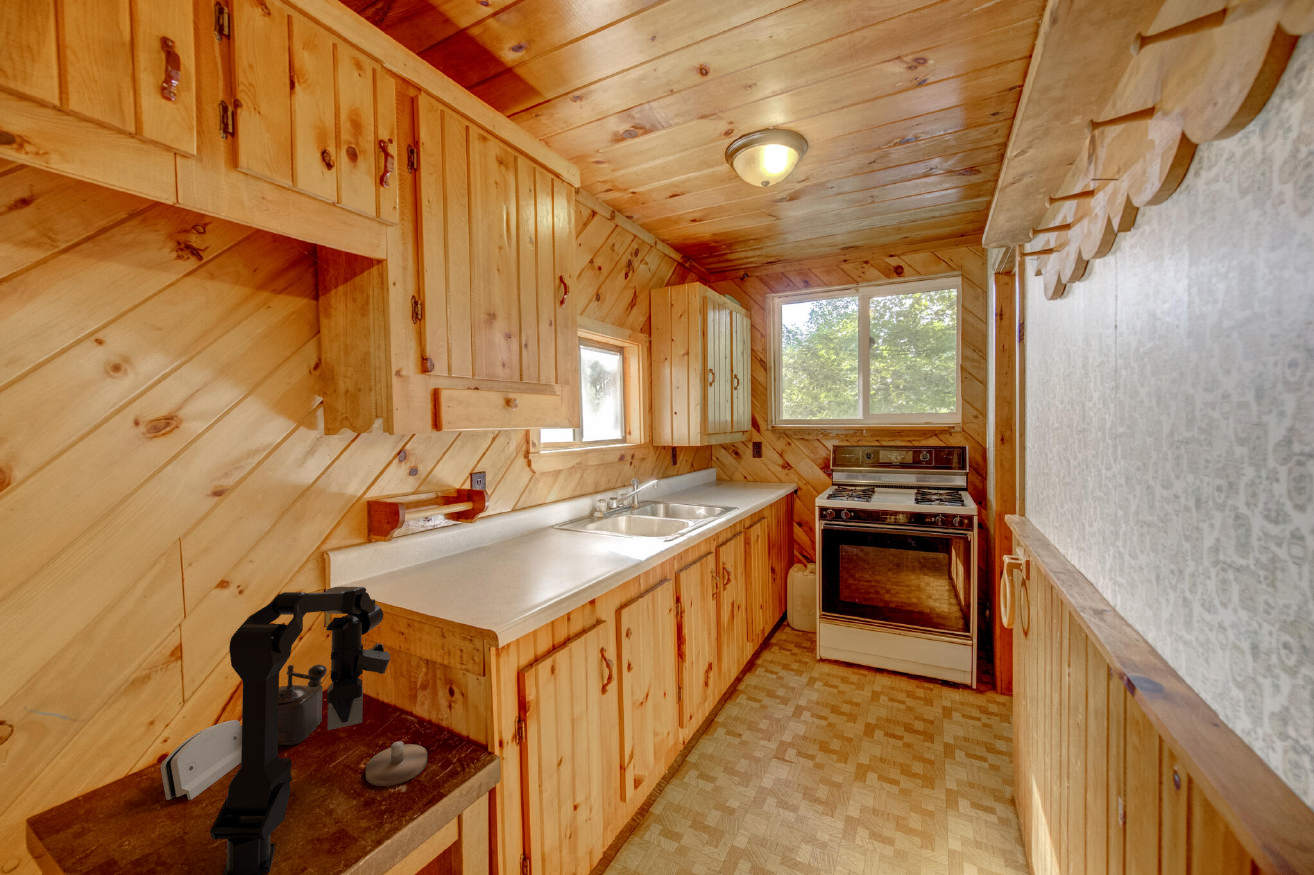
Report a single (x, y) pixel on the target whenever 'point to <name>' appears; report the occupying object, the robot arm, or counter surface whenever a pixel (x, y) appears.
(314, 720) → the dark grey coffee grinder
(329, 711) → the grey block
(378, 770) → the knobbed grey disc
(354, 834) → the counter surface
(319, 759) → the counter surface
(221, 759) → the grey napkin holder
